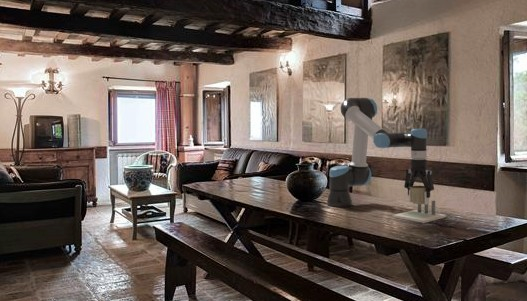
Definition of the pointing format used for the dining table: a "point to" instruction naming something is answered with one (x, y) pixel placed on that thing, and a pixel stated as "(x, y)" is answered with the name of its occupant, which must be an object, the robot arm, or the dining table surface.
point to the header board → (420, 214)
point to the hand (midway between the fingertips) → (418, 202)
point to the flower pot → (418, 194)
